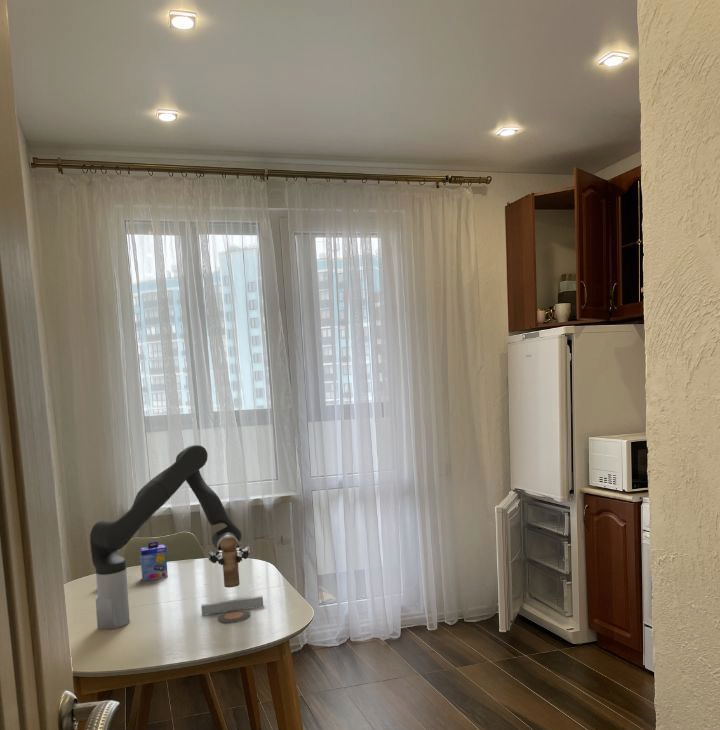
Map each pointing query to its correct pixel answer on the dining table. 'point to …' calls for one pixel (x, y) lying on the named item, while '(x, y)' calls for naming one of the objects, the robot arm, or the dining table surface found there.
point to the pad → (233, 616)
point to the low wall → (232, 605)
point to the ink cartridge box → (153, 561)
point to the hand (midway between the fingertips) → (230, 560)
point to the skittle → (230, 561)
